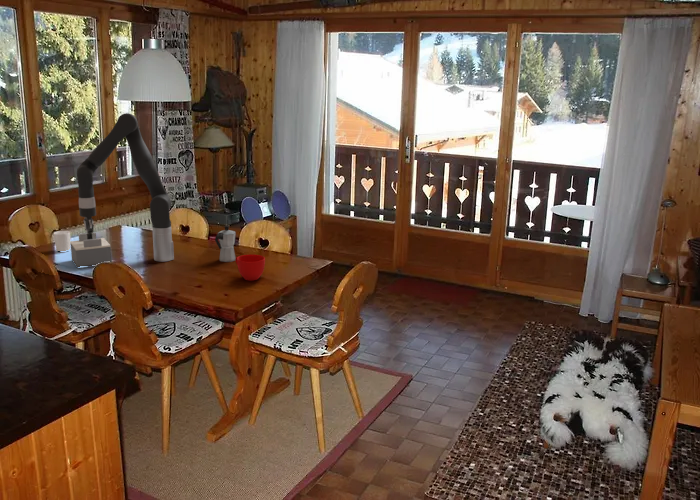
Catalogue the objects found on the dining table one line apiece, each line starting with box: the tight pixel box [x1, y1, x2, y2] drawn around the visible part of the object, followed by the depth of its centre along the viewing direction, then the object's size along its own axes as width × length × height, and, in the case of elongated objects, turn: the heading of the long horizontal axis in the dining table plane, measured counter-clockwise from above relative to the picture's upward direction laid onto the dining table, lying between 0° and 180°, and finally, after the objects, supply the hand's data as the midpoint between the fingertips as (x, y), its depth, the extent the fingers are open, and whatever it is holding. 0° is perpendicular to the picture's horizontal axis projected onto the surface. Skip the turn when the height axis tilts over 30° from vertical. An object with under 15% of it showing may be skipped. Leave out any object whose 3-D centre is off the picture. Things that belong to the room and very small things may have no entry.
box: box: [70, 243, 113, 268], centre depth 329 cm, size 16×16×9 cm
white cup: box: [53, 230, 71, 252], centre depth 347 cm, size 8×8×10 cm
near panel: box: [73, 237, 111, 250], centre depth 324 cm, size 16×8×4 cm, turn 121°
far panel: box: [70, 232, 108, 246], centre depth 330 cm, size 16×8×4 cm, turn 121°
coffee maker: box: [214, 225, 236, 263], centre depth 338 cm, size 15×9×18 cm, turn 149°
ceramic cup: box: [235, 253, 266, 281], centre depth 312 cm, size 13×17×10 cm
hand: (90, 240), depth 327 cm, fingers closed
